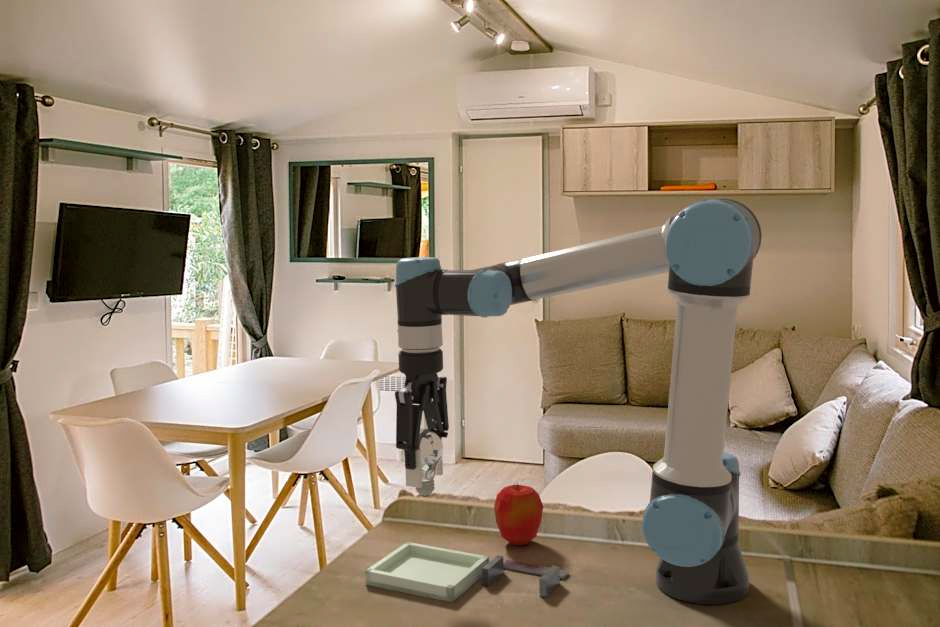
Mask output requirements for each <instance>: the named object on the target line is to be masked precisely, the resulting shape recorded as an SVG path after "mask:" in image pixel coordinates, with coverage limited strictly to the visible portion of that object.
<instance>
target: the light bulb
mask: <svg viewBox="0 0 940 627" xmlns="http://www.w3.org/2000/svg"><path fill="white" fill-rule="evenodd" d="M418 449H421V469H422V487H421V488H417V487H414V488H415V491H416V493H417V494H419V495H420V496H421V497H422V498H428V497H429V496H430V495H432V493H433V492H434V490H435V489H436V488H435V478H436V477H435V476H436V475H435V474H436V468H437V466H438V464H439V462H440V460H441V458H442V459H443V455H444V444H443V441H441V439H440V437H439V436H438V435H437V434H436V433H435V432H434V431H432V430H429V429H428V428H420V435H419V442H418ZM402 453H403V457H404V459H405V452H404V450H403V449H402Z"/></svg>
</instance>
